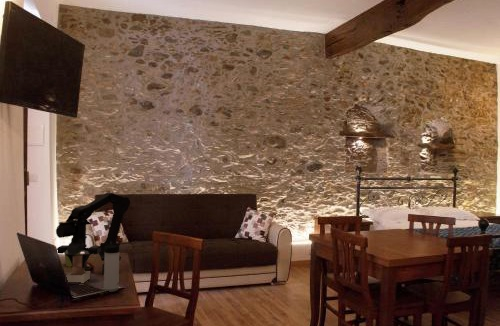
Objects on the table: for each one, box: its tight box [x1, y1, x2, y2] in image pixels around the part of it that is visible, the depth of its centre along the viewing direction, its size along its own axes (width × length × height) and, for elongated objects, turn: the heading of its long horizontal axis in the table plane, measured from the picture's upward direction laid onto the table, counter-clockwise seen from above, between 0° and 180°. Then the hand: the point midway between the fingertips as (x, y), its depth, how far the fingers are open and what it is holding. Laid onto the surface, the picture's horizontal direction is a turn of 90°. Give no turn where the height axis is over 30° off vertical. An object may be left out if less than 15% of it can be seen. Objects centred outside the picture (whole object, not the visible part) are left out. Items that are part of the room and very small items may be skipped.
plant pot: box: [63, 251, 82, 268], centre depth 224 cm, size 9×9×9 cm
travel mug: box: [103, 242, 121, 293], centre depth 184 cm, size 6×7×20 cm
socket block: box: [65, 270, 91, 283], centre depth 194 cm, size 8×8×4 cm
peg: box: [71, 253, 85, 275], centre depth 194 cm, size 4×4×9 cm
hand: (78, 268), depth 194 cm, fingers closed on peg, 4 cm apart
